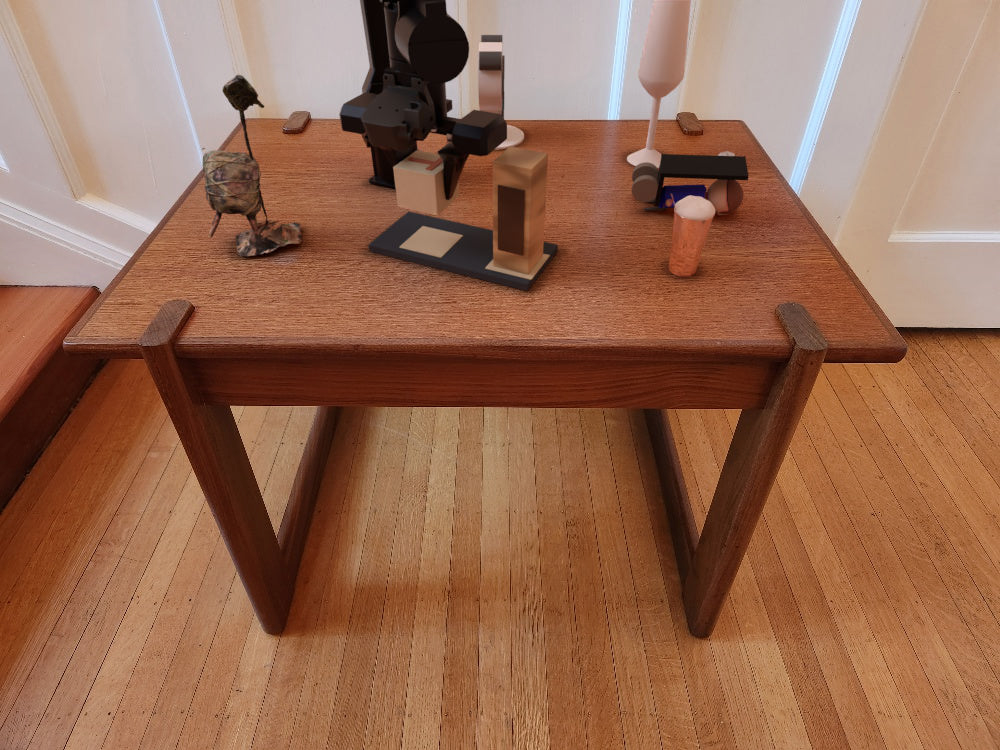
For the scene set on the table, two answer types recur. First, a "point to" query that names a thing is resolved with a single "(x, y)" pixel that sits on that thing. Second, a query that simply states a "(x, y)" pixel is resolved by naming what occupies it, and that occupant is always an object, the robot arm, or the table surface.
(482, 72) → the white post on disc
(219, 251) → the table surface
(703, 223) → the milkshake
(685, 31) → the champagne flute
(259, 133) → the table surface
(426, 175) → the cream letter cube
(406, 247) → the word mat
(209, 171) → the bird sculpture
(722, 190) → the toy vehicle
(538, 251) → the maple letter block
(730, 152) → the game die
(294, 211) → the table surface
